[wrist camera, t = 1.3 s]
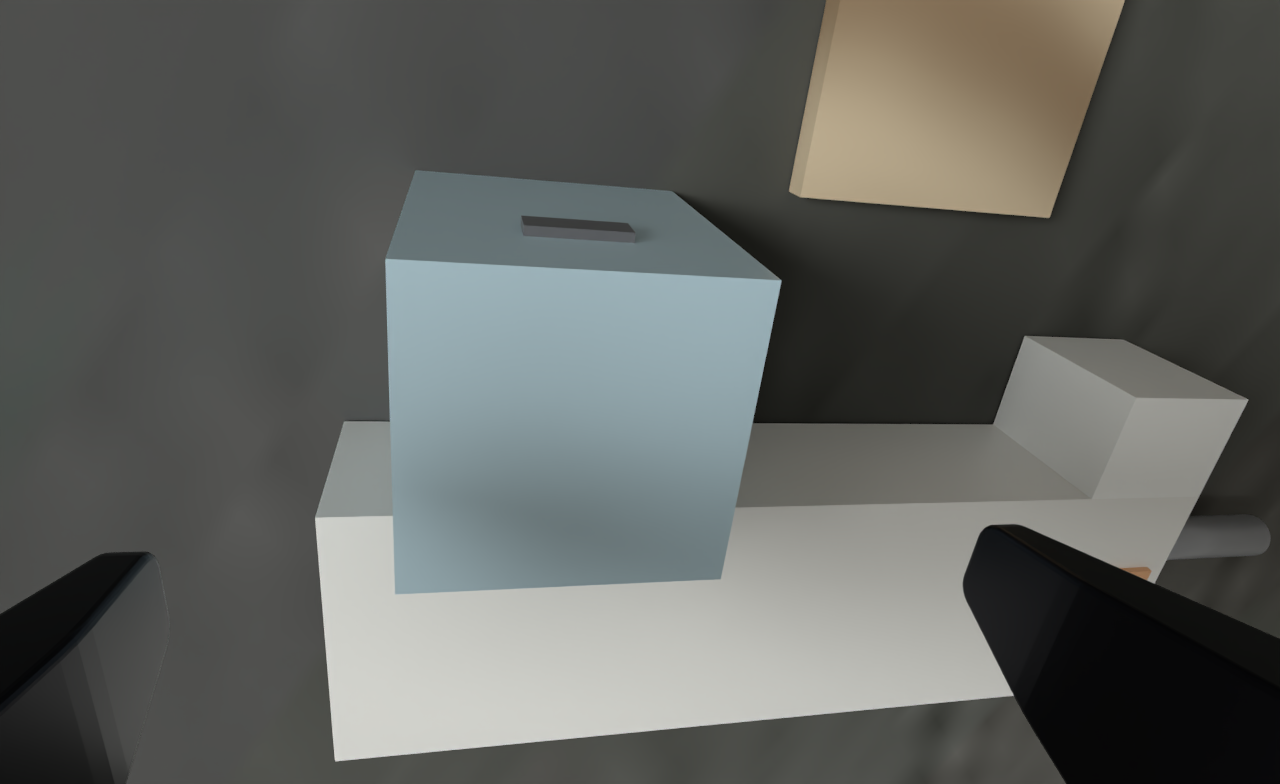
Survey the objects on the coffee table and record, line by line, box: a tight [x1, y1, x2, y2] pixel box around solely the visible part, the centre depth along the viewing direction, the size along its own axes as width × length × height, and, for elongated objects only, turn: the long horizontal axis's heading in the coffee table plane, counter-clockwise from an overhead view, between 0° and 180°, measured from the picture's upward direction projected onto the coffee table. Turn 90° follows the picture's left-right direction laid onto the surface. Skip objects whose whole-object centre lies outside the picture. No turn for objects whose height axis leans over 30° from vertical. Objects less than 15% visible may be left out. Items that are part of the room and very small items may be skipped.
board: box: [789, 0, 1125, 218], centre depth 15 cm, size 6×6×1 cm
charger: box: [385, 170, 782, 594], centre depth 13 cm, size 7×5×6 cm
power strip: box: [315, 336, 1271, 761], centre depth 18 cm, size 8×25×4 cm, turn 84°
